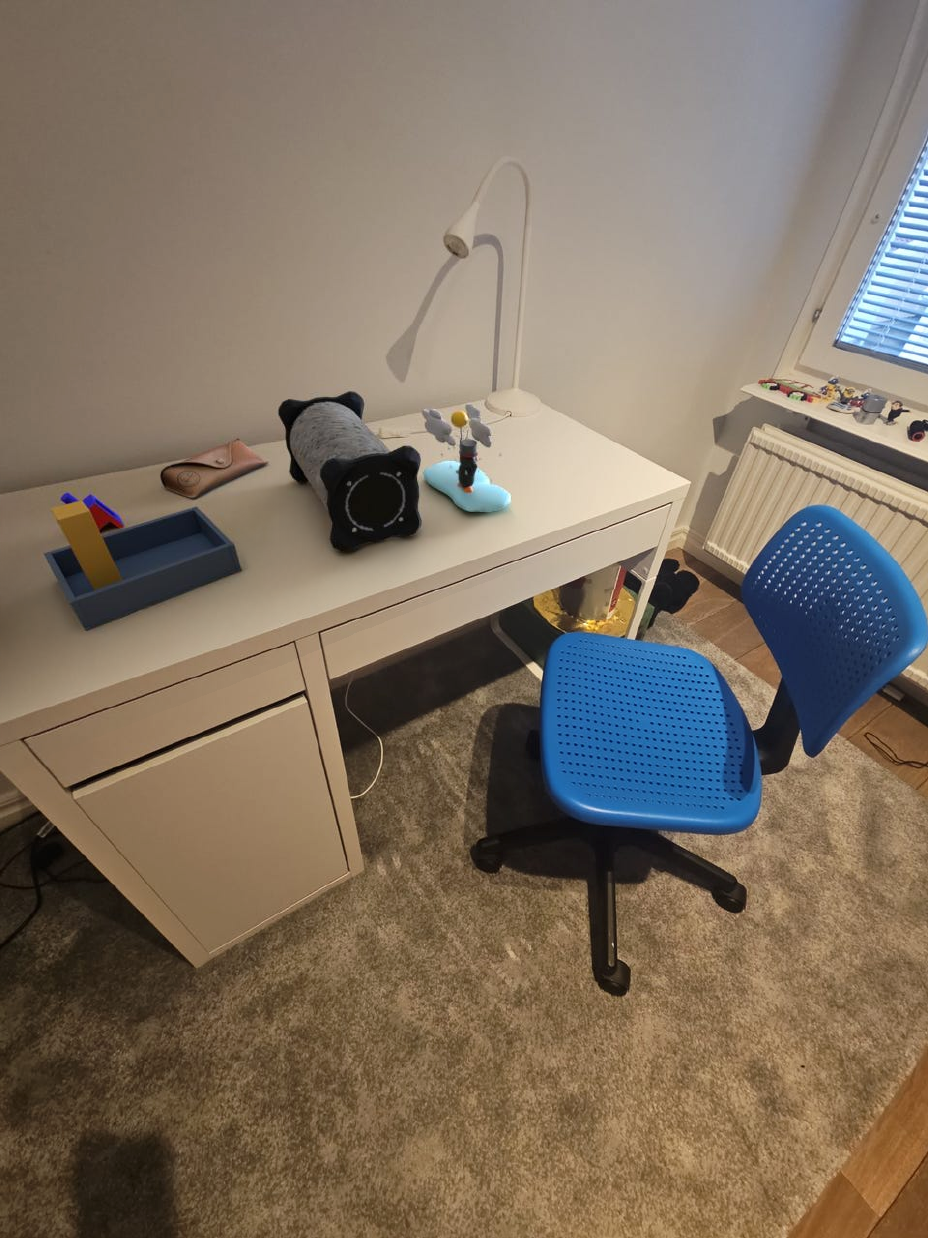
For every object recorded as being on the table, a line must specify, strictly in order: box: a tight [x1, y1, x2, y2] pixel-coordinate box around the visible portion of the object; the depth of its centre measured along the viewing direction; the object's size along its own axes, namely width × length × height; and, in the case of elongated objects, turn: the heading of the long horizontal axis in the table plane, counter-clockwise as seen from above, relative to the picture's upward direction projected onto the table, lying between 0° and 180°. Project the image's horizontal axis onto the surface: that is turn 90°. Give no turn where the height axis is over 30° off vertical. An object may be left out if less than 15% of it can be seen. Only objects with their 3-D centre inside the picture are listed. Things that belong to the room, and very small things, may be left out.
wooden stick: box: [50, 499, 123, 590], centre depth 70 cm, size 4×4×12 cm
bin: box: [43, 506, 242, 631], centre depth 76 cm, size 21×14×5 cm, turn 132°
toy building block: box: [59, 492, 124, 531], centre depth 84 cm, size 4×4×8 cm
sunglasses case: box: [159, 437, 269, 499], centre depth 100 cm, size 18×7×7 cm
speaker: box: [277, 390, 423, 553], centre depth 89 cm, size 15×29×15 cm, turn 27°
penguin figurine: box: [421, 403, 512, 513], centre depth 94 cm, size 20×11×15 cm, turn 30°
